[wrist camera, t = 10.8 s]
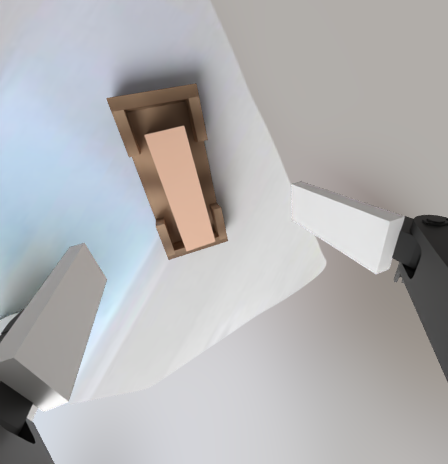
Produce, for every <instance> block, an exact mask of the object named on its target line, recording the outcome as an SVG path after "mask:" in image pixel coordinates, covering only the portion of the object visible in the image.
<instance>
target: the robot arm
mask: <svg viewBox="0 0 448 464" xmlns="http://www.w3.org/2000/svg"><path fill="white" fill-rule="evenodd" d="M291 202H292V221H294V222H295V223H297V224H299V225H300V226H302V227H303V228H305V229H306V230H308V231H309V232H311V233H313V234H314V235H316V236H317V237H319V238H320V239H322V240H324V241H325V242H327V243H328V244H330V245H331V246H333V247H334V248H336V249H338V250H339V251H341V252H342V253H344V254H345V255H347V256H349V257H350V258H352V259H353V260H355V261H356V262H358V263H359V264H361V265H362V266H364V267H365V268H367V269H369V270H370V271H372V272H373V273H375V274H378V273H380V272H383V271H386V270H388V269H389V268H390V264H391V261H392V258H394V259H396V260H397V261H399V265H398V268H397V271H396V274H395V277H394V282H397V281H398V278H399V277H402V283H404V284H405V286H406V288H407V290H408V293H409V295H410V297H411V299H412V302H413V304H414V306H415V308H416V311H417V313H418V315H419V318H420V320H421V322H422V324H423V327H424V329H425V331H426V334H427V336H428V338H429V340H430V343H431V345H432V347H433V349H434V352H435V354H436V356H437V359H438V361H439V363H440V365H441V368H442V370H443V372H444V375H445V377H446V379H447V381H448V218H446V217H442V216H436V215H421V216H417V217H415V218H414V219H412V218H409V217H406V216H403V215H400V214H397V213H394V212H391V211H388V210H385V209H382V208H379V207H376V206H373V205H370V204H367V203H364V202H361V201H358V200H355V199H352V198H349V197H346V196H343V195H341V194H338V193H335V192H332V191H329V190H326V189H323V188H320V187H316V186H314V185H311V184H308V183H305V182H302V181H300V182H297V183H293V184H291ZM106 281H107V279H106V277H105V275H104V274H103V272H102V270H101V269H100V267H99V266H98V264H97V262H96V261H95V259H94V258H93V256H92V254H91V253H90V251H89V249H88V248H87V246H86V245H85V243H82V244H79V245H75V246H72V247H69V249H68V250H67V251H66V253H65V254H64V256H63V257H62V258H61V260H60V261H59V262H58V264H57V265H56V267H55V268H54V269H53V271H52V272H51V273H50V275H49V276H48V278H47V279H46V280H45V282H44V283H43V284H42V286H41V287H40V289H39V290H38V291H37V293H36V294H35V296H34V297H33V298H32V300H31V301H30V302H29V304H28V305H27V307H26V308H25V309H23V310H22V311H21V312H20V313H18V314H17V315H16V316H15V317H14V318H13V319H12V320H11V321H10V322H9V323H8V324H7V326H6V327H5V328H4V330H3V331H2V332H1V335H0V464H54V462H53V460H52V458H51V456H50V454H49V452H48V450H47V448H46V446H45V444H44V443H43V440H42V438H41V437H40V434H39V433H38V431H37V429H36V427H35V425H34V423H33V422H32V421H31V420H29V419H28V418H27V416H28V414H29V412H30V409H31V407H32V405H34V406H36V407H37V408H39V409H40V410H42V411H43V412H45V411H48V410H50V409H53V408H55V407H57V406H60V405H62V404H65V403H67V402H69V399H70V396H71V393H72V390H73V387H74V383H75V380H76V377H77V374H78V371H79V367H80V364H81V361H82V358H83V355H84V352H85V348H86V345H87V342H88V339H89V336H90V332H91V329H92V326H93V323H94V320H95V316H96V313H97V310H98V307H99V304H100V300H101V297H102V294H103V291H104V288H105V285H106Z"/></svg>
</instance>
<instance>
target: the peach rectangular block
mask: <svg viewBox="0 0 448 464" xmlns="http://www.w3.org/2000/svg"><path fill="white" fill-rule="evenodd" d="M144 136H145V138H146V141H147V144H148V147H149V150H150V152H151V155H152V158H153V161H154V163H155V166H156V169H157V172H158V174H159V177H160V180H161V183H162V185H163V188H164V191H165V194H166V196H167V199H168V202H169V205H170V207H171V210H172V213H173V216H174V218H175V221H176V224H177V227H178V229H179V232H180V235H181V238H182V240H183V243H184V246H185V249H186V251H190V250H193V249H196V248H198V247H201V246H204V245H207V244H210V243H213V242H215V238H214V234H213V231H212V227H211V223H210V220H209V216H208V212H207V208H206V205H205V201H204V197H203V194H202V190H201V186H200V183H199V179H198V175H197V171H196V168H195V164H194V160H193V157H192V153H191V149H190V145H189V142H188V138H187V134H186V131H185V127H184V126H180V127H176V128H172V129H167V130H163V131H159V132H155V133H150V134H146V135H144Z"/></svg>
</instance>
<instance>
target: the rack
mask: <svg viewBox="0 0 448 464" xmlns="http://www.w3.org/2000/svg"><path fill="white" fill-rule="evenodd" d="M106 99H107V101H108V104H109V107H110V109H111V112H112V114H113V117H114V119H115V122H116V125H117V127H118V130H119V132H120V135H121V138H122V140H123V143H124V145H125V148H126V151H127V153H128V156H129V157H132V158H133V161H134V164H135V166H136V169H137V172H138V174H139V177H140V179H141V182H142V185H143V187H144V190H145V193H146V195H147V198H148V201H149V203H150V206H151V208H152V211H153V214H154V216H155V219H156V228H157V231H158V233H159V236H160V239H161V241H162V244H163V246H164V249H165V252H166V254H167V257H168V259H169V260H170V259H173V258H176V257H179V256H183V255H186V254H189V253H192V252H195V251H198V250H201V249H204V248H208V247H211V246H214V245H217V244H220V243H223V242H226V241H228V239H227V234H226V229H225V224H224V219H223V214H222V209H221V207H220V206H219V205H218V203H217V202H216V197H215V192H214V187H213V183H212V178H211V173H210V168H209V163H208V159H207V154H206V149H205V144H204V141H205V140H208V139H207V134H206V129H205V124H204V119H203V114H202V109H201V104H200V99H199V94H198V89H197V84H190V85H184V86H178V87H172V88H165V89H159V90H153V91H147V92H141V93H135V94H129V95H123V96H117V97H111V98H106ZM180 126H184V127H185V131H186V134H187V138H188V142H189V145H190V149H191V153H192V157H193V160H194V164H195V168H196V171H197V175H198V179H199V183H200V186H201V190H202V194H203V197H204V201H205V205H206V208H207V212H208V216H209V220H210V223H211V227H212V231H213V234H214V238H215V242H213V243H210V244H207V245H204V246H201V247H198V248H196V249H193V250H190V251H186V249H185V246H184V243H183V240H182V238H181V235H180V232H179V229H178V227H177V224H176V221H175V218H174V216H173V213H172V210H171V207H170V205H169V202H168V199H167V196H166V194H165V191H164V188H163V185H162V183H161V180H160V177H159V174H158V172H157V169H156V166H155V163H154V161H153V158H152V155H151V152H150V150H149V147H148V144H147V141H146V138H145V136H144V135H146V134H150V133H155V132H159V131H163V130H167V129H172V128H176V127H180Z"/></svg>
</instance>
